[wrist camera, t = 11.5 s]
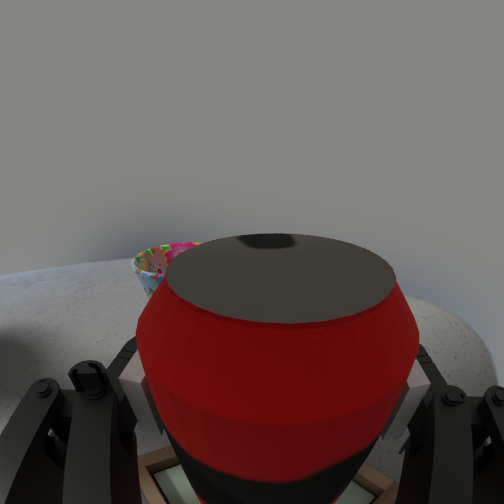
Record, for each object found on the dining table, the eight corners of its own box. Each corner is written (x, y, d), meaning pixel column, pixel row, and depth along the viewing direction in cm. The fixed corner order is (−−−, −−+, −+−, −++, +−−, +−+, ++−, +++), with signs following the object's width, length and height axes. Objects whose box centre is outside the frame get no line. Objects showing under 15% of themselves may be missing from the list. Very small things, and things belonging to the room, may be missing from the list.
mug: (157, 383, 23) (134, 282, 20) (144, 332, 31) (129, 249, 28) (269, 353, 28) (272, 258, 25) (234, 313, 36) (232, 235, 33)
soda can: (316, 417, 15) (346, 224, 11) (359, 515, 8) (497, 308, 4) (193, 432, 14) (155, 233, 10) (199, 543, 6) (67, 371, 3)
